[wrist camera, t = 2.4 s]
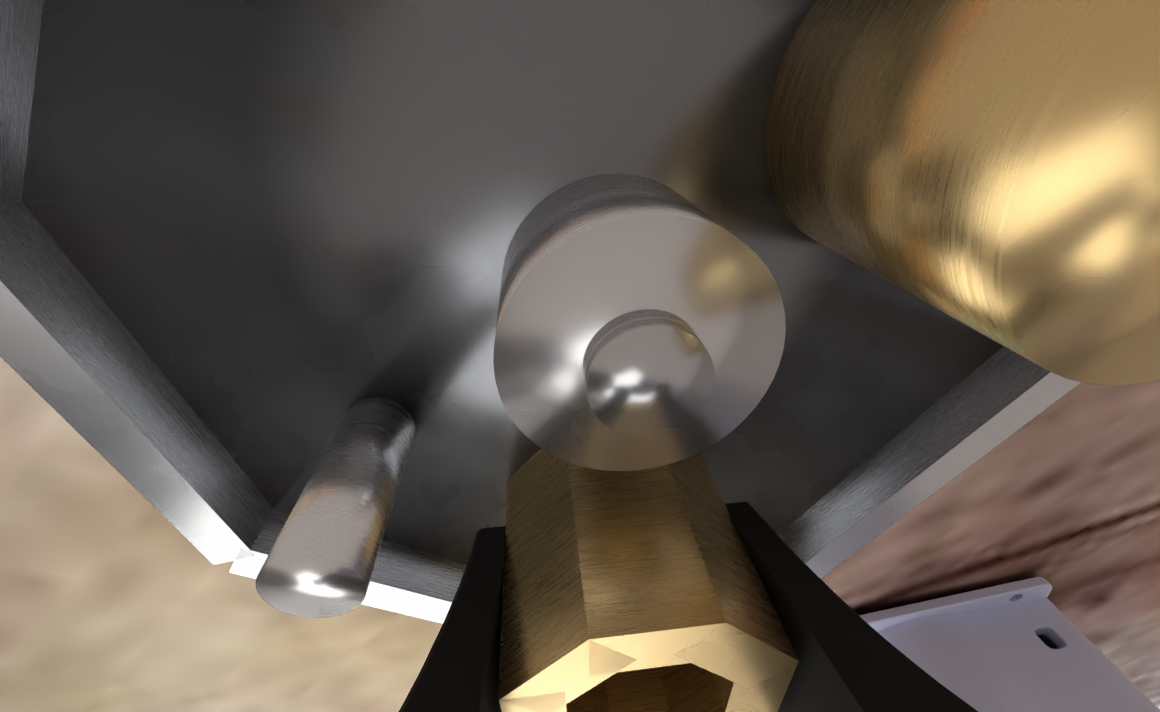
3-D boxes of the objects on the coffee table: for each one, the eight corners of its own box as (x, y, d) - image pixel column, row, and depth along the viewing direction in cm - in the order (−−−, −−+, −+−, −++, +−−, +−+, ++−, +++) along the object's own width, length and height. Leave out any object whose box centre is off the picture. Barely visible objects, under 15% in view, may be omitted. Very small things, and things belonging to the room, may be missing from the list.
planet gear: (710, 414, 12) (820, 610, 7) (690, 548, 14) (761, 749, 10) (501, 432, 11) (486, 651, 7) (520, 567, 14) (519, 784, 10)
